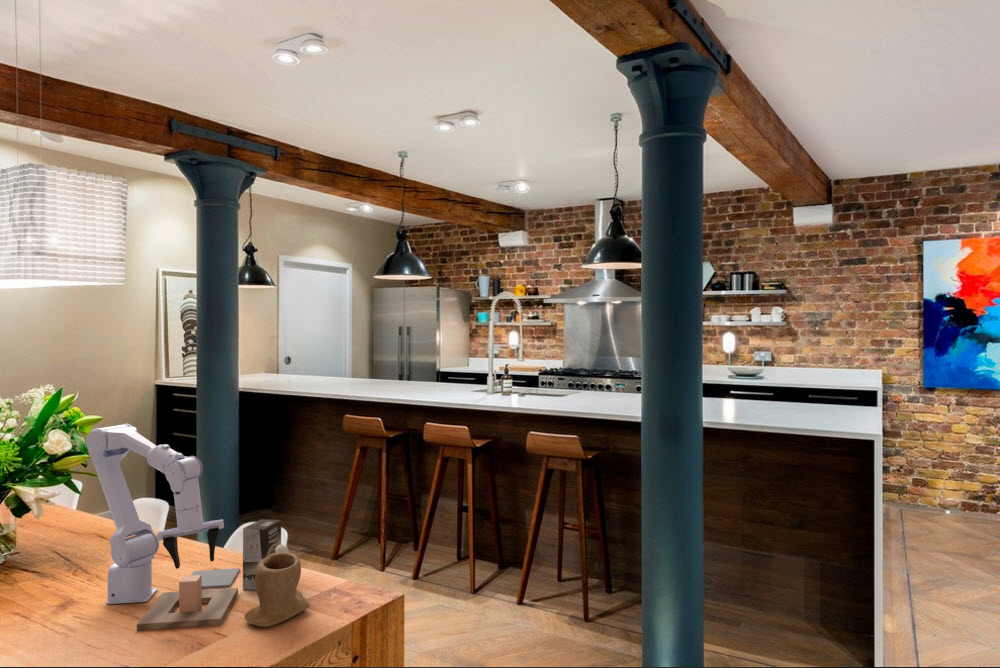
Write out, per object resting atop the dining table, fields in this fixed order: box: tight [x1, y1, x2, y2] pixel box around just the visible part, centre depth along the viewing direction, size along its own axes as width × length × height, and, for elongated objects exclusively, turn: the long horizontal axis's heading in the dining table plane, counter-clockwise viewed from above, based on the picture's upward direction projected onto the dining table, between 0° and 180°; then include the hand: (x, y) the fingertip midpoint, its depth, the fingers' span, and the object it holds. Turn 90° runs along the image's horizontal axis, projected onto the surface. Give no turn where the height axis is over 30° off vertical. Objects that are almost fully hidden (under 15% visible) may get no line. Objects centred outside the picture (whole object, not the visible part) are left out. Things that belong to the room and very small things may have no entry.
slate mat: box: [191, 567, 241, 589], centre depth 181 cm, size 12×12×1 cm
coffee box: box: [242, 518, 282, 591], centre depth 178 cm, size 9×6×16 cm
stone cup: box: [244, 552, 310, 628], centre depth 158 cm, size 15×12×15 cm
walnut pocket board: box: [136, 587, 239, 632], centre depth 161 cm, size 18×18×2 cm
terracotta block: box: [178, 574, 203, 612], centre depth 161 cm, size 4×4×8 cm
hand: (195, 564), depth 162 cm, fingers open, 7 cm apart
